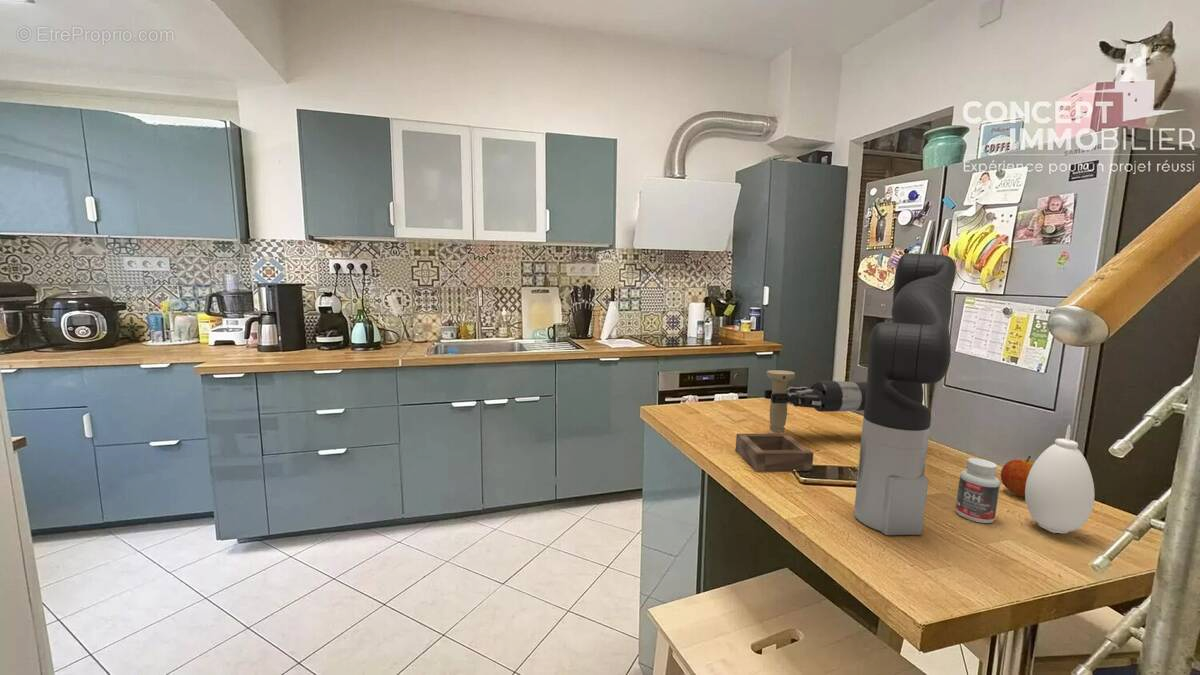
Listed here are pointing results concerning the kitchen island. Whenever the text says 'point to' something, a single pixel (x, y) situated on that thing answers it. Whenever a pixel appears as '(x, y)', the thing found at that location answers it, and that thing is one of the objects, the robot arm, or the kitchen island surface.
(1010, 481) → the fruit
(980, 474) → the pill bottle
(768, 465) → the socket
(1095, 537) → the kitchen island surface
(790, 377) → the handle
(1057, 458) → the white air blower bulb
